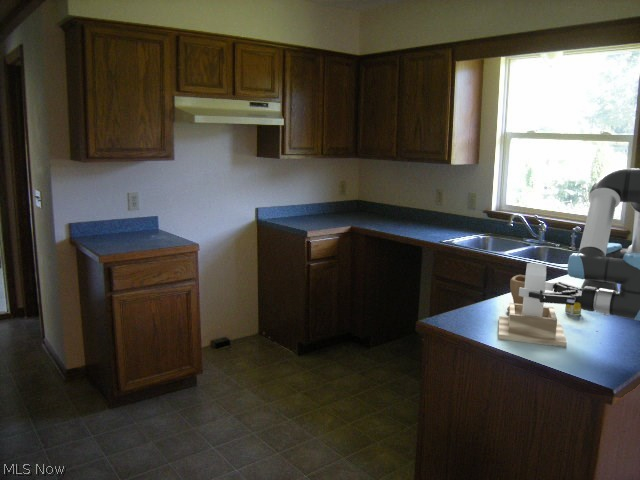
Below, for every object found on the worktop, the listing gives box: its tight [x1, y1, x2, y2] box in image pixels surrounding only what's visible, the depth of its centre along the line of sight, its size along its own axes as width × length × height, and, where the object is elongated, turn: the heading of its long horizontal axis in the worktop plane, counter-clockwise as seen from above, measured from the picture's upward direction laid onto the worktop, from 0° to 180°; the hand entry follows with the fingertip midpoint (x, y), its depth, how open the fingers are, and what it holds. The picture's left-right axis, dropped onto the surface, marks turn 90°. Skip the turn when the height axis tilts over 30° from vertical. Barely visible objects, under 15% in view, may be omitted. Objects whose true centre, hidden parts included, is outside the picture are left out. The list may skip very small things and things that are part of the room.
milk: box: [522, 262, 547, 317], centre depth 178 cm, size 6×6×22 cm
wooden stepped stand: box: [497, 302, 567, 348], centre depth 179 cm, size 20×20×8 cm
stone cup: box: [506, 274, 526, 313], centre depth 196 cm, size 15×12×15 cm
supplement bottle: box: [564, 303, 582, 317], centre depth 200 cm, size 5×5×10 cm
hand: (526, 287), depth 179 cm, fingers open, 13 cm apart
